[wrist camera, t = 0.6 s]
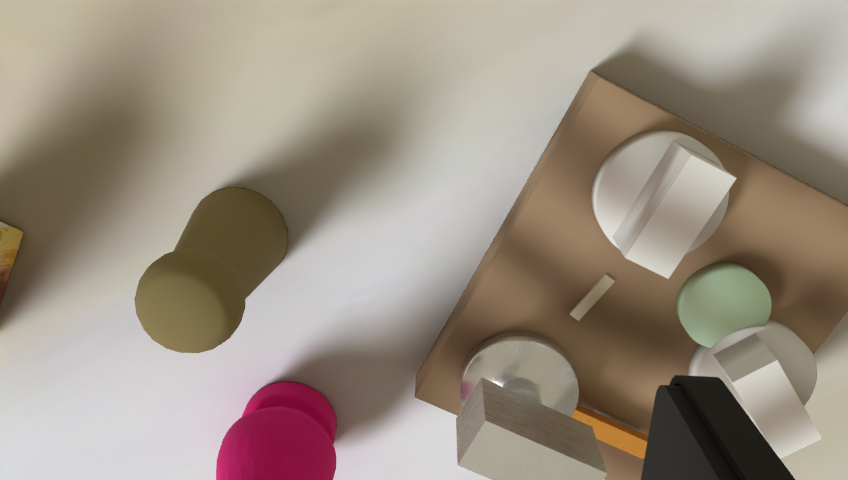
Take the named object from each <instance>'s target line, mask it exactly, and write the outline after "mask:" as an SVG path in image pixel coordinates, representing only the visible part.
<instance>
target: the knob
mask: <svg viewBox="0 0 848 480" xmlns="http://www.w3.org/2000/svg"><path fill="white" fill-rule="evenodd" d="M578 397H579V388H578V382H577V378H576V375H575V372H574V369H573V366H572V364H571V361H570V359H569V357H568V356H567V354H566V353H565V352H564V350H563V349H562V348H561V347H560V346H559V345H558V344H556V343H555V342H554V341H552V340H551V339H549V338H547V337H545V336H542V335H540V334H536V333H532V332H525V331H513V332H506V333H501V334H498V335H495V336H493V337H491V338H489V339H487V340H485V341H484V342H482V343H480V344H479V345H478V346H477V347H476V348H475V349H474V350H473V351H472V352H471V353H470V354H469V356H468V357H467V359H466V360H465V362H464V364H463V367H462V370H461V374H460V400H461V406H462V410H461V411H460V413H459V415H458V416H457V418H456V430H457V459H458V465H459V466H461V467H464V468H466V469H468V470H471V471H473V472H476V473H478V474H480V475H483V476H485V477H487V478H490V479H492V480H603V479H604V478H605V477H606V475H607V474H608V473H607V470H606V467H605V464H604V461H603V458H602V455H601V452H600V449H599V446H598V443H597V439H598V440H601V441H603V442H605V443H607V444H610V445H612V446H614V447H616V448H619V449H621V450H623V451H625V452H628V453H630V454H632V455H634V456H637V457H639V458H641V459H644V457H645V452H646V446H647V441H648V436H647V435H645V434H643V433H641V432H638V431H636V430H634V429H632V428H629V427H627V426H625V425H623V424H621V423H618V422H616V421H614V420H612V419H609V418H607V417H605V416H603V415H600V414H598V413H596V412H594V411H592V410H589V409H587V408H585V407H583V406H580V405H578V404H577V403H578Z"/></svg>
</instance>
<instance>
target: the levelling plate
mask: <svg viewBox="0 0 848 480" xmlns="http://www.w3.org/2000/svg"><path fill="white" fill-rule="evenodd" d="M847 311H848V206H847V205H845V204H844V203H842V202H840V201H838V200H836V199H834V198H832V197H830V196H828V195H826V194H824V193H823V192H821V191H819V190H817V189H815V188H813V187H811V186H809V185H807V184H805V183H804V182H802V181H800V180H798V179H796V178H794V177H792V176H790V175H788V174H786V173H784V172H783V171H781V170H779V169H777V168H775V167H773V166H771V165H769V164H767V163H765V162H763V161H762V160H760V159H758V158H756V157H754V156H752V155H750V154H748V153H746V152H744V151H743V150H741V149H739V148H737V147H735V146H733V145H731V144H729V143H727V142H725V141H723V140H722V139H720V138H718V137H716V136H714V135H712V134H710V133H708V132H706V131H704V130H702V129H701V128H699V127H697V126H695V125H693V124H691V123H689V122H687V121H685V120H683V119H681V118H680V117H678V116H676V115H674V114H672V113H670V112H668V111H666V110H664V109H662V108H661V107H659V106H657V105H655V104H653V103H651V102H649V101H647V100H645V99H643V98H641V97H640V96H638V95H636V94H634V93H632V92H630V91H628V90H626V89H624V88H622V87H620V86H619V85H617V84H615V83H613V82H611V81H609V80H607V79H605V78H603V77H601V76H600V75H598V74H596V73H594V72H592V71H590V72H589V73H588V75H587V77H586V79H585V80H584V82H583V84H582V86H581V87H580V89H579V91H578V93H577V95H576V96H575V98H574V100H573V102H572V103H571V105H570V107H569V109H568V110H567V112H566V114H565V116H564V117H563V119H562V121H561V123H560V124H559V126H558V128H557V130H556V131H555V133H554V135H553V137H552V138H551V140H550V142H549V144H548V145H547V147H546V149H545V151H544V152H543V154H542V156H541V158H540V159H539V161H538V163H537V165H536V166H535V168H534V170H533V172H532V173H531V175H530V177H529V179H528V180H527V182H526V184H525V186H524V187H523V189H522V191H521V193H520V195H519V196H518V198H517V200H516V202H515V203H514V205H513V207H512V209H511V210H510V212H509V214H508V216H507V217H506V219H505V221H504V223H503V224H502V226H501V228H500V230H499V231H498V233H497V235H496V237H495V238H494V240H493V242H492V244H491V245H490V247H489V249H488V251H487V252H486V254H485V256H484V258H483V259H482V261H481V263H480V265H479V266H478V268H477V270H476V272H475V273H474V275H473V277H472V279H471V280H470V282H469V284H468V286H467V287H466V289H465V291H464V293H463V295H462V296H461V298H460V300H459V302H458V303H457V305H456V307H455V309H454V310H453V312H452V314H451V316H450V317H449V319H448V321H447V323H446V324H445V326H444V328H443V330H442V331H441V333H440V335H439V337H438V338H437V340H436V342H435V344H434V345H433V347H432V349H431V351H430V352H429V354H428V356H427V358H426V359H425V361H424V363H423V365H422V366H421V368H420V370H419V372H418V373H417V375H416V388H415V397H416V398H418V399H420V400H423V401H425V402H427V403H430V404H432V405H434V406H437V407H439V408H441V409H443V410H446V411H448V412H450V413H453V414H455V415H457V416H458V415H459V413H460V411H461V410H462V406H461V400H460V374H461V370H462V367H463V364H464V362H465V360H466V359H467V357H468V356H469V354H470V353H471V352H472V351H473V350H474V349H475V348H476V347H477V346H478V345H479V344H480V343H482V342H484V341H485V340H487V339H489V338H491V337H493V336H495V335H498V334H501V333H506V332H513V331H525V332H532V333H536V334H540V335H542V336H545V337H547V338H549V339H551V340H552V341H554V342H555V343H556V344H558V345H559V346H560V347H561V348H562V349H563V350H564V352H565V353H566V354H567V356H568V357H569V359H570V361H571V364H572V366H573V369H574V372H575V375H576V378H577V382H578V388H579V397H578V403H577V404H578V405H580V406H583V407H585V408H587V409H589V410H592V411H594V412H596V413H598V414H600V415H603V416H605V417H607V418H609V419H612V420H614V421H616V422H618V423H621V424H623V425H625V426H627V427H629V428H632V429H634V430H636V431H638V432H641V433H643V434H645V435H647V436H648V435H649V429H650V424H651V418H652V412H653V406H654V401H655V395H656V391H657V389H658V387H659V386H660V385H669V384H670V382H671V380H672V378H673V377H674V376H675V375H687V376H707V377H719V378H720V379H721V380H722V381H723V382H724V383H725V385H726V386H727V388H728V389H729V390H730V392H731V393H732V394H733V396H734V397H735V398H736V400H737V401H738V403H739V404H740V405H741V407H742V408H743V409H744V411H745V412H746V413H747V415H748V416H749V418H750V419H751V420H752V422H753V423H754V424H755V426H756V427H757V428H758V430H759V431H760V433H761V434H762V435H763V437H764V438H765V439H766V441H767V442H768V443H769V445H770V446H771V447H772V449H773V450H774V452H775V453H776V454H777V456H778V457H779V458H783V457H785V456H787V455H789V454H791V453H793V452H795V451H797V450H799V449H801V448H804V447H806V446H808V445H810V444H812V443H814V442H816V441H818V440H820V439H822V438H821V436H820V434H819V433H818V431H817V429H816V427H815V426H814V424H813V422H812V420H811V418H810V417H809V415H808V413H807V411H806V410H805V408H804V405H805V404H806V402H807V401H808V400H809V398H810V396H811V394H812V393H813V390H814V387H815V384H816V380H817V365H816V361H815V358H814V356H813V354H814V353H815V351H816V350H817V349H818V348H819V346H820V345H821V344H822V343H823V341H824V340H825V339H826V338H827V336H828V335H829V334H830V333H831V331H832V330H833V329H834V327H835V326H836V325H837V324H838V322H839V321H840V320H841V319H842V317H843V316H844V315H845V314H846V312H847ZM597 443H598V446H599V449H600V452H601V455H602V458H603V461H604V464H605V467H606V470H607V473H608V474H607V475H606V477H605V478H604V479H605V480H641V475H642V469H643V464H644V459H641V458H639V457H637V456H634V455H632V454H630V453H628V452H625V451H623V450H621V449H619V448H616V447H614V446H612V445H610V444H607V443H605V442H603V441H601V440H598V439H597ZM644 458H645V457H644Z"/></svg>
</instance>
